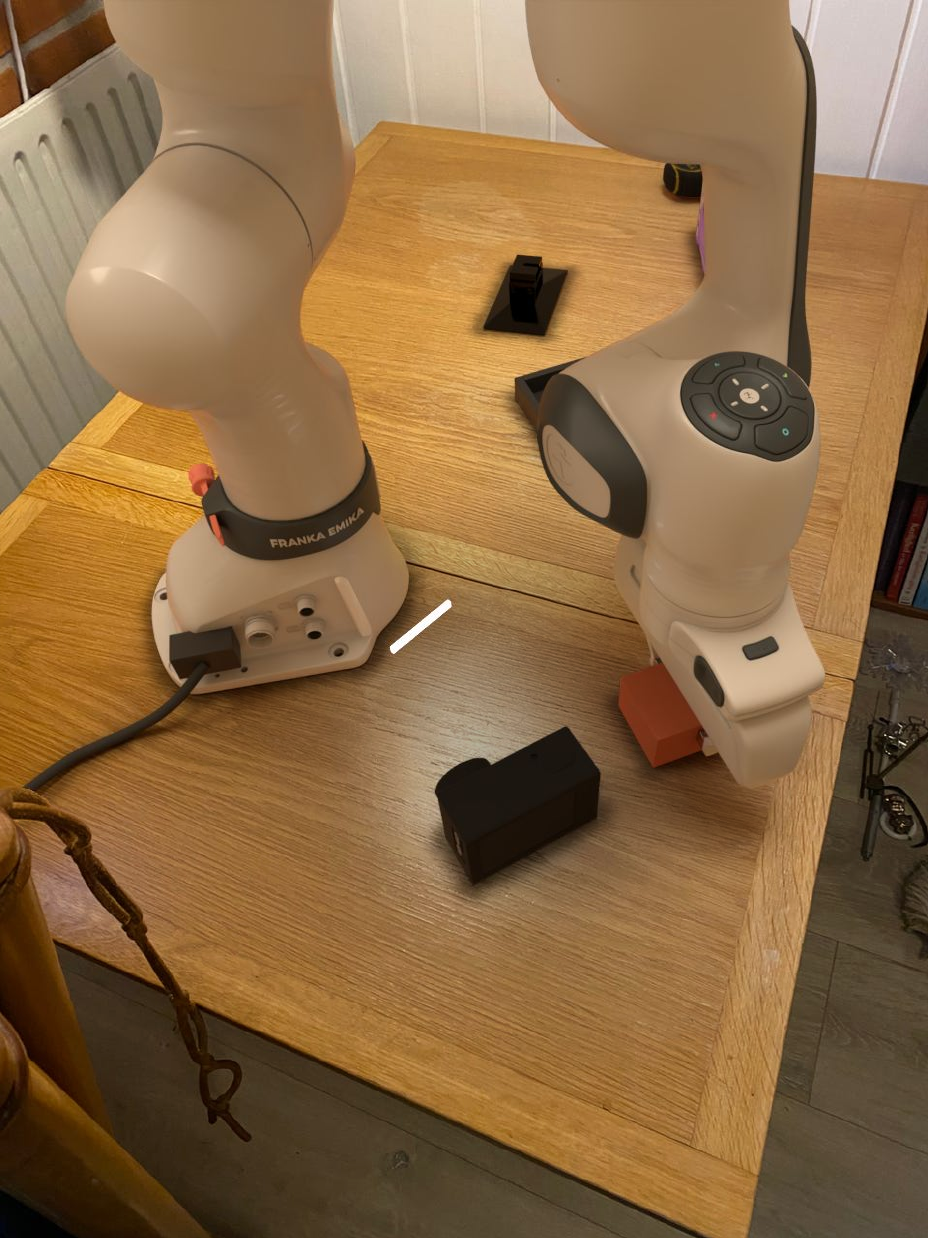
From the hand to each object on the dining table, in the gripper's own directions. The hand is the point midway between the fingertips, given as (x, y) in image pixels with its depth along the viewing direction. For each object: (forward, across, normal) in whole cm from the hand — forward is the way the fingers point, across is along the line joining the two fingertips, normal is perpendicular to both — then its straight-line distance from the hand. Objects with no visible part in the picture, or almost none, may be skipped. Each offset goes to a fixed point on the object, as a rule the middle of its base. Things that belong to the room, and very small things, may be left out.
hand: (686, 707), depth 72 cm
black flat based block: (+2, -56, +10) cm, 57 cm away
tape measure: (+2, -69, +38) cm, 79 cm away
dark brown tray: (+2, -36, +13) cm, 38 cm away
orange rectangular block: (+2, 0, 0) cm, 2 cm away
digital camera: (+2, +3, -15) cm, 16 cm away
